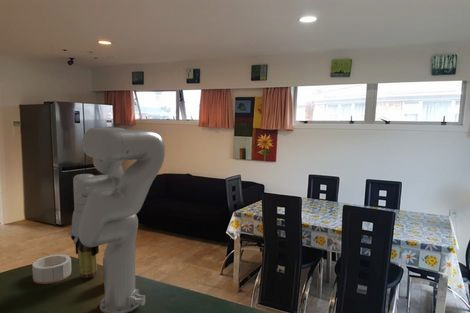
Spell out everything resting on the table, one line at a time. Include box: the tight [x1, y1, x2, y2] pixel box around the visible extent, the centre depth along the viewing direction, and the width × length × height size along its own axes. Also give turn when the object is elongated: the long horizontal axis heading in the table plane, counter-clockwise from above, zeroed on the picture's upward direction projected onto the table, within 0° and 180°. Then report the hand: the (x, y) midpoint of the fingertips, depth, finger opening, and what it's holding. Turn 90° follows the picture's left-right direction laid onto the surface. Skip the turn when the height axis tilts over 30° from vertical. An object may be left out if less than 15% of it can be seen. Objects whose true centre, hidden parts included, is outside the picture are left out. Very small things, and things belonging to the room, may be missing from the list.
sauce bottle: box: [77, 240, 98, 279], centre depth 122 cm, size 6×6×20 cm
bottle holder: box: [31, 253, 72, 285], centre depth 123 cm, size 13×13×6 cm
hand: (87, 253), depth 122 cm, fingers closed on sauce bottle, 6 cm apart
